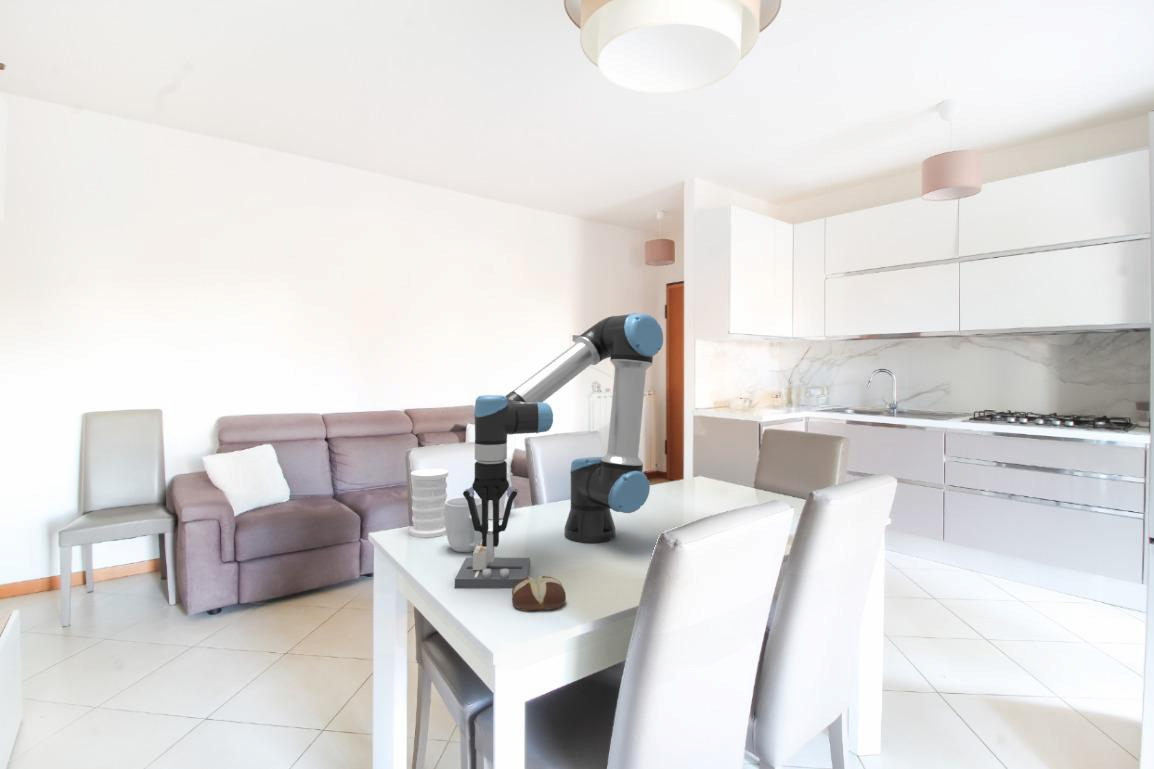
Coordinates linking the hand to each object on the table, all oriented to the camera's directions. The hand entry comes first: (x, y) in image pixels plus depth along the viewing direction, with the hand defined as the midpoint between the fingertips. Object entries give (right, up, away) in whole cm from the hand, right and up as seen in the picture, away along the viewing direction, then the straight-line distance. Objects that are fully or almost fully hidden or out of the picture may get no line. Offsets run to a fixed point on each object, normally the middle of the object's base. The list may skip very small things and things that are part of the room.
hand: (490, 559), depth 131 cm
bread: (+12, -5, -13) cm, 19 cm away
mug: (-9, -4, +19) cm, 21 cm away
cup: (-7, -2, +52) cm, 53 cm away
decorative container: (-24, -3, +35) cm, 42 cm away
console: (+1, -4, 0) cm, 4 cm away
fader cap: (-2, -2, 0) cm, 3 cm away
